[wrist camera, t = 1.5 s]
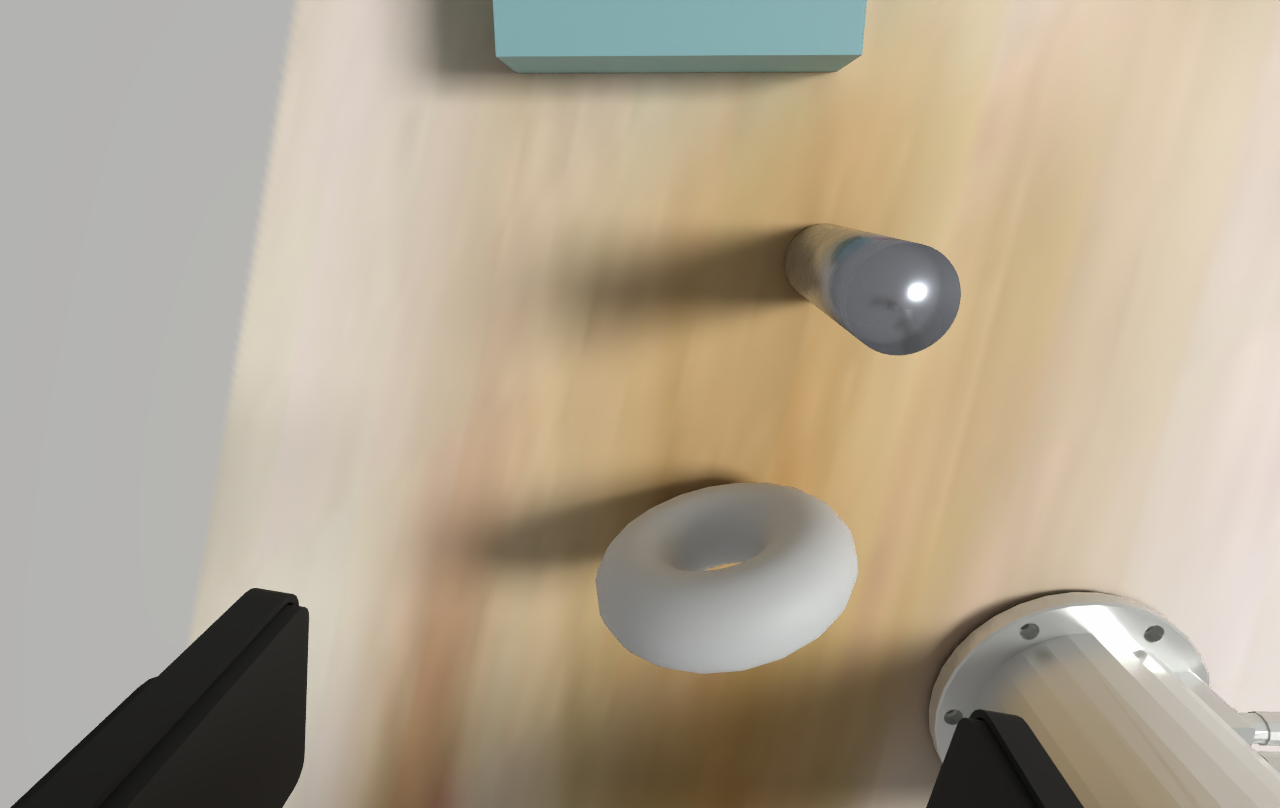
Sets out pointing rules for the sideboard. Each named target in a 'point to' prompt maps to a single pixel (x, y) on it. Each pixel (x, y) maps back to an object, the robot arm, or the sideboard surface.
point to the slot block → (678, 35)
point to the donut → (727, 577)
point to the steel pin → (876, 286)
